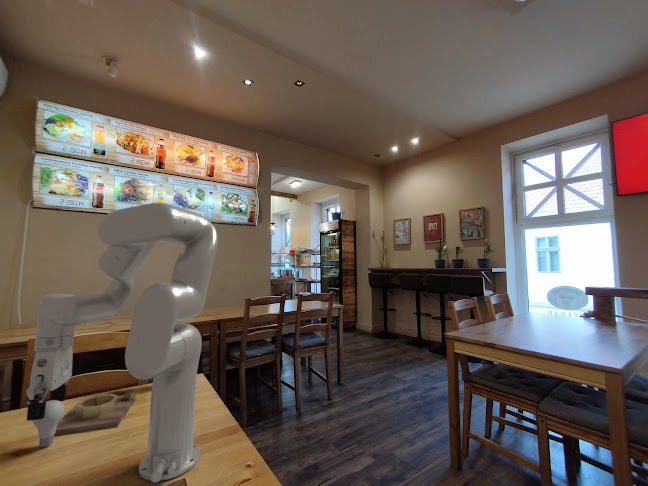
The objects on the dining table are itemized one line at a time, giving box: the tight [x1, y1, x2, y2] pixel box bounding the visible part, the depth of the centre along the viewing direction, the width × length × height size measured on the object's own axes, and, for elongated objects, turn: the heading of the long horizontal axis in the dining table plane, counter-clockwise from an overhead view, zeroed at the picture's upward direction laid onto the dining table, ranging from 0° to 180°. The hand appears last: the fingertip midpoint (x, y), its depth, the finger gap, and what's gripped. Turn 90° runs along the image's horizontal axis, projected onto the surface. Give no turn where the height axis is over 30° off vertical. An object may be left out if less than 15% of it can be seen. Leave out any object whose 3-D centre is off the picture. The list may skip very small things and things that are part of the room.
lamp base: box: [54, 392, 137, 437], centre depth 88 cm, size 18×16×3 cm
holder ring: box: [75, 393, 120, 420], centre depth 89 cm, size 10×10×3 cm
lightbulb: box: [31, 400, 66, 448], centre depth 74 cm, size 6×6×11 cm
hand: (47, 409), depth 74 cm, fingers open, 9 cm apart
